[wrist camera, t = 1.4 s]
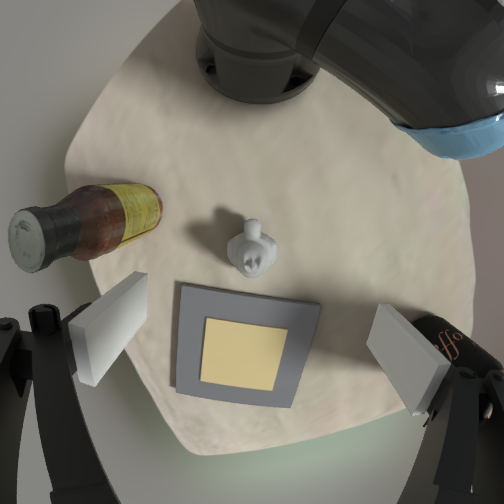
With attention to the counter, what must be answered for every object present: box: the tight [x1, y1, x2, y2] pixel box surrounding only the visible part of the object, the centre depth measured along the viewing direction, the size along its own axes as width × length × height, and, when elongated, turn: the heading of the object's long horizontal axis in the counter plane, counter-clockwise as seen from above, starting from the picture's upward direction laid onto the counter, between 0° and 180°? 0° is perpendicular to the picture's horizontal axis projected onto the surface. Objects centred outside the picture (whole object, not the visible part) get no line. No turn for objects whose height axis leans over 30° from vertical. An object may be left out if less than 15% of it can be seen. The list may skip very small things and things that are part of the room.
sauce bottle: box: [8, 183, 163, 273], centre depth 22 cm, size 7×6×20 cm
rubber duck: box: [227, 219, 277, 278], centre depth 29 cm, size 5×7×8 cm
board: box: [176, 283, 321, 408], centre depth 35 cm, size 17×17×1 cm
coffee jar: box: [412, 316, 504, 418], centre depth 27 cm, size 11×11×18 cm
